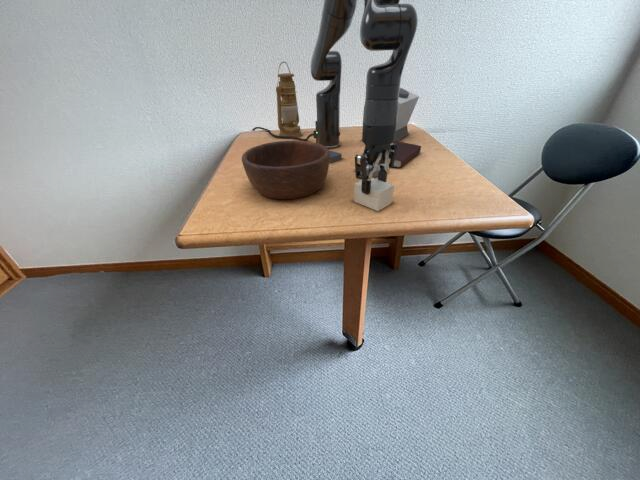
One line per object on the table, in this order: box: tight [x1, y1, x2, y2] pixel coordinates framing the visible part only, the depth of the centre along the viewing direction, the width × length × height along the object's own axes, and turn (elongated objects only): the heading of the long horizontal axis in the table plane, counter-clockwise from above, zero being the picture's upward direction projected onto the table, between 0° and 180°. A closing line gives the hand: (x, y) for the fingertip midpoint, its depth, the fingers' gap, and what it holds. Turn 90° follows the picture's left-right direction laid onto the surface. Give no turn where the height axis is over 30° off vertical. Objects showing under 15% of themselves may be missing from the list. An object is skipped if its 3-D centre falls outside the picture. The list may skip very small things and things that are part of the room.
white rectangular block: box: [353, 190, 394, 212], centre depth 73 cm, size 8×6×3 cm
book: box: [389, 141, 422, 168], centre depth 101 cm, size 12×19×3 cm, turn 144°
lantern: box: [275, 61, 302, 138], centre depth 125 cm, size 15×10×30 cm
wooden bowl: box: [241, 140, 331, 200], centre depth 81 cm, size 25×25×10 cm
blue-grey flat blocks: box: [329, 149, 380, 178], centre depth 97 cm, size 28×6×2 cm, turn 43°
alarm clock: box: [395, 86, 420, 142], centre depth 119 cm, size 20×16×20 cm
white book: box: [354, 177, 395, 200], centre depth 71 cm, size 8×6×2 cm
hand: (373, 189), depth 71 cm, fingers closed on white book, 6 cm apart
